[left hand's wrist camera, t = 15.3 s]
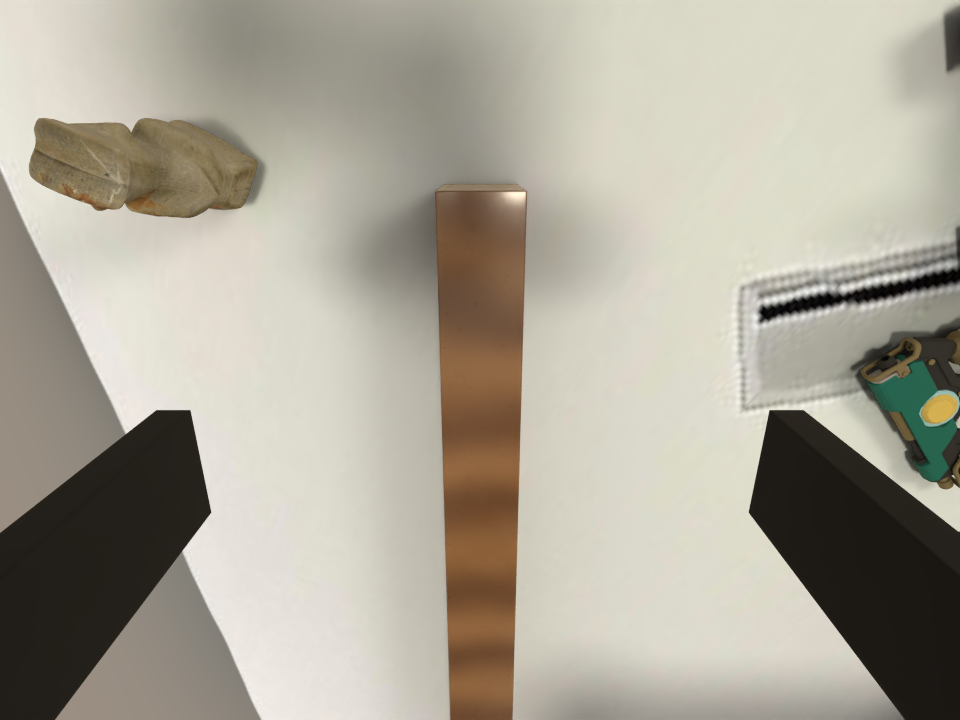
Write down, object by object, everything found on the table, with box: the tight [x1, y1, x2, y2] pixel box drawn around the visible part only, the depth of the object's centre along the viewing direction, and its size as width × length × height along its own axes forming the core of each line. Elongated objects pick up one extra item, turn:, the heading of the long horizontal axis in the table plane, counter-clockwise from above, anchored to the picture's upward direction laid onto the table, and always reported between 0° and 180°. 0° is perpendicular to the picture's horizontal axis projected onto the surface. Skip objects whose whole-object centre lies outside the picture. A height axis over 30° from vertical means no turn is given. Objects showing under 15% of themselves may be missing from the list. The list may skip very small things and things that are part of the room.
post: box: [435, 184, 527, 720], centre depth 50 cm, size 64×6×9 cm, turn 0°
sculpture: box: [29, 118, 257, 218], centre depth 35 cm, size 6×7×15 cm
